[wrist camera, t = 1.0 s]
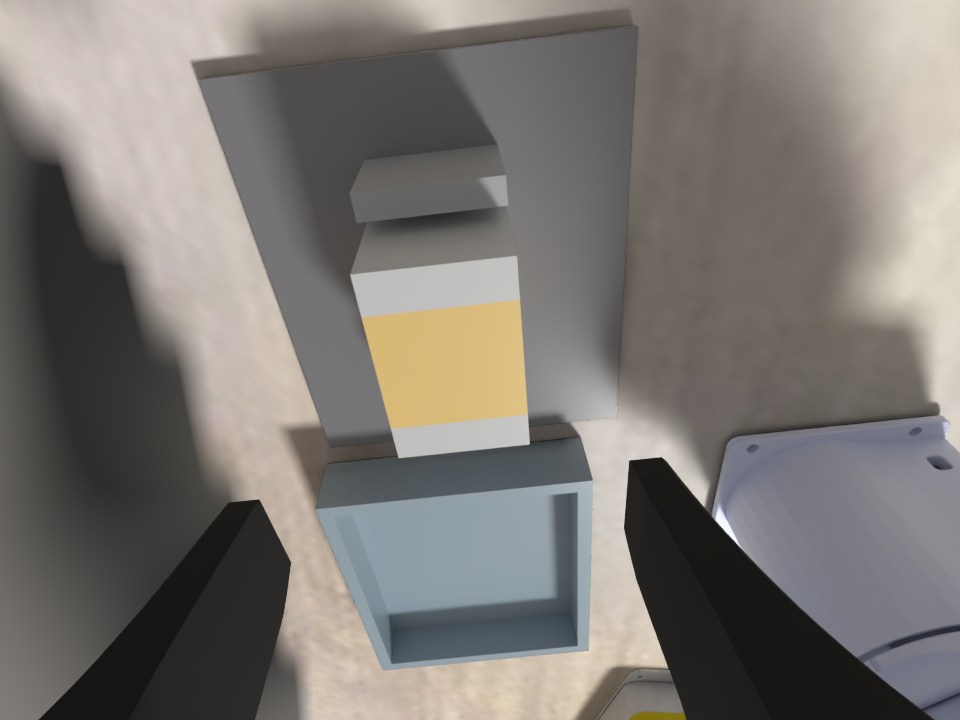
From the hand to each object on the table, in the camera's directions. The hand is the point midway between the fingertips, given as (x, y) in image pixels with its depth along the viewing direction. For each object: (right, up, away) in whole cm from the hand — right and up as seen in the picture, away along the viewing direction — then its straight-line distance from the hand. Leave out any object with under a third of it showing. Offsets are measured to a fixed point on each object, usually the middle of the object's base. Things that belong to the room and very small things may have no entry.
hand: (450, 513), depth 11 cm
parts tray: (0, -6, +17) cm, 18 cm away
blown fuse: (0, +6, +8) cm, 10 cm away
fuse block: (0, +6, +8) cm, 10 cm away
